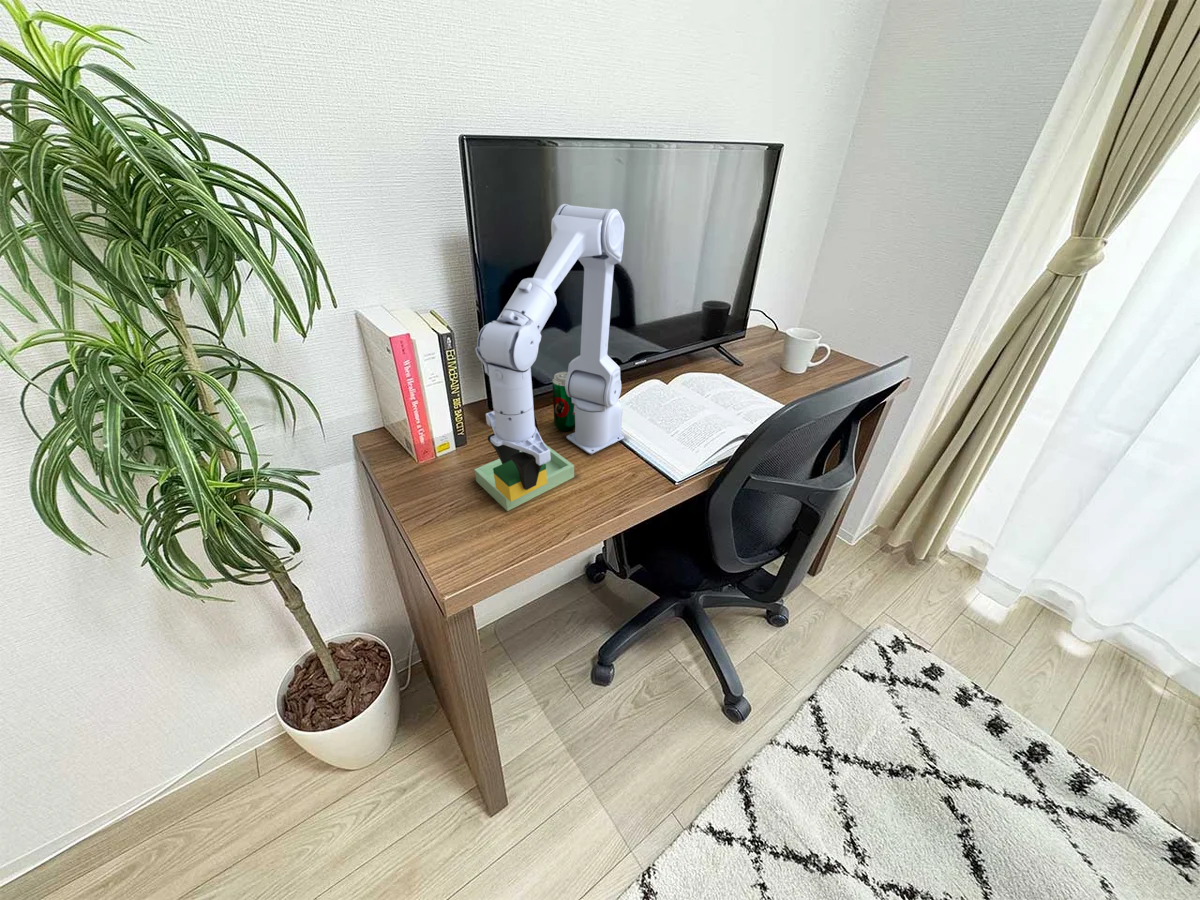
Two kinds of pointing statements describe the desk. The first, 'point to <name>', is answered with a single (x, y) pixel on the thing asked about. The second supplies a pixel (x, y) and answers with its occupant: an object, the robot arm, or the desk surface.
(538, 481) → the sponge
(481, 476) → the tray
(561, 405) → the soda can
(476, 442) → the desk surface
